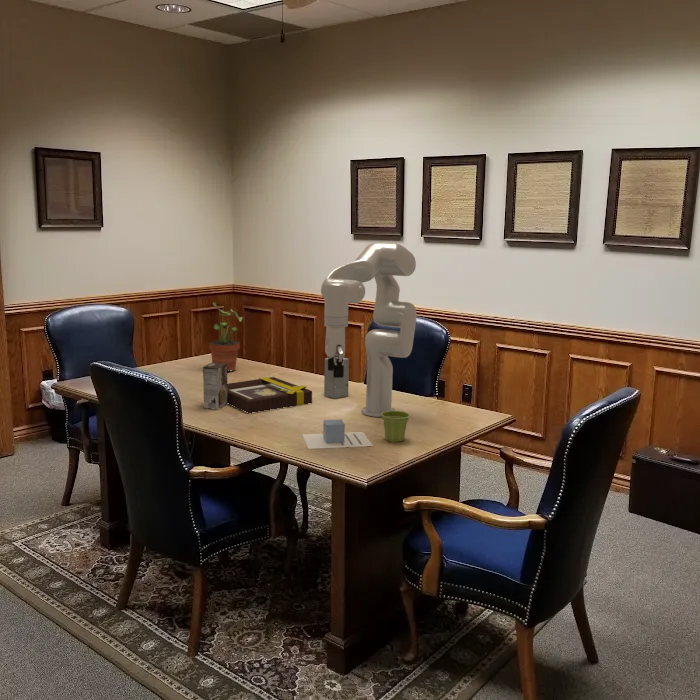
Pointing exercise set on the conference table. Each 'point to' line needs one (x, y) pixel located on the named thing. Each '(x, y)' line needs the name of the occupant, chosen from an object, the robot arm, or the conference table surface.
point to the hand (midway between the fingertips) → (335, 373)
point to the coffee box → (215, 385)
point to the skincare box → (336, 382)
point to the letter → (349, 441)
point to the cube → (333, 431)
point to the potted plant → (225, 344)
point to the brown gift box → (266, 394)
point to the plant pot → (395, 425)
